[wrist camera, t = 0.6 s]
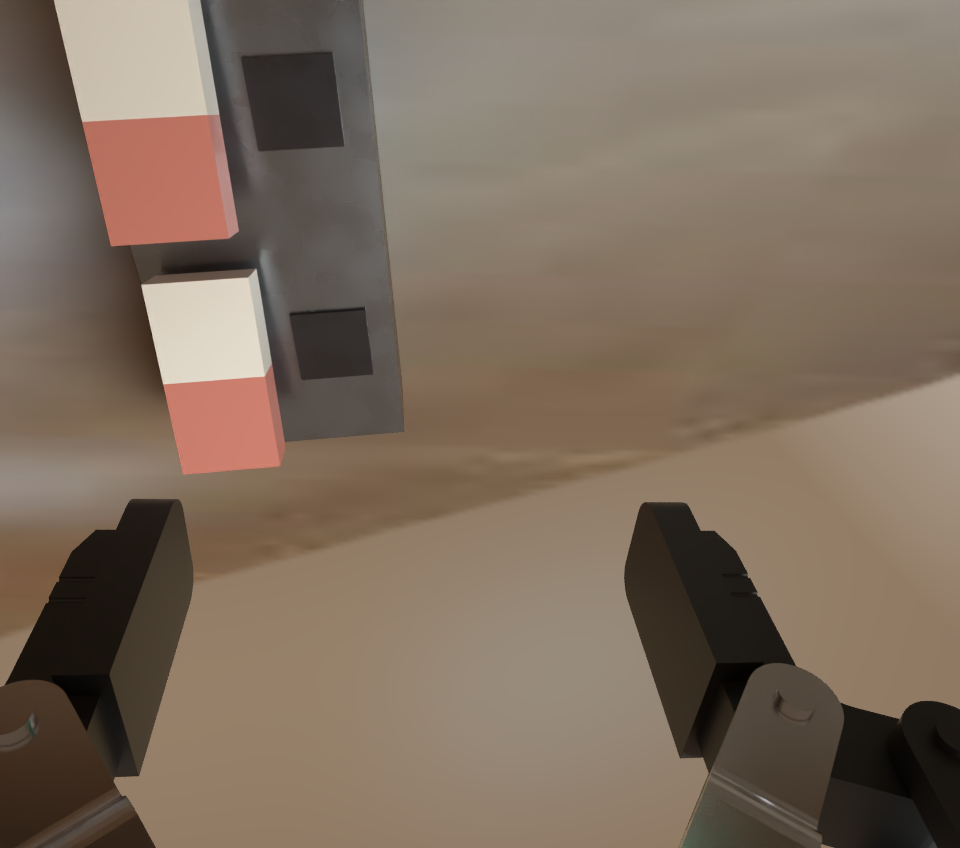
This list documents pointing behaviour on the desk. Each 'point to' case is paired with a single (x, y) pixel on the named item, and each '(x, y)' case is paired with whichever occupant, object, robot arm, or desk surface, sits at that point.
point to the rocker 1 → (150, 118)
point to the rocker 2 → (216, 369)
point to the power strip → (304, 209)
